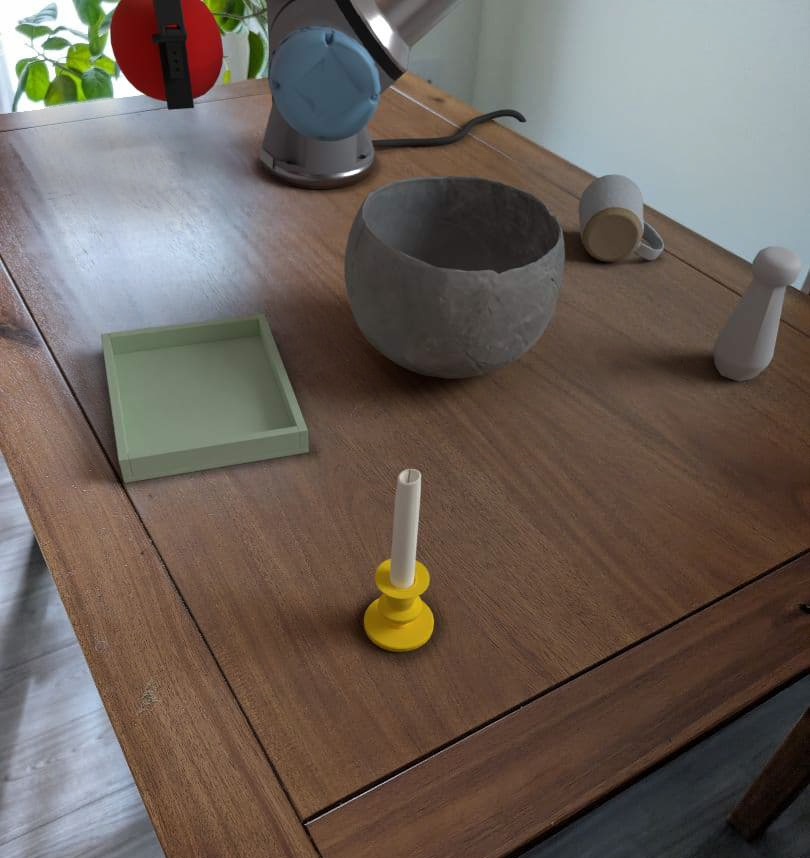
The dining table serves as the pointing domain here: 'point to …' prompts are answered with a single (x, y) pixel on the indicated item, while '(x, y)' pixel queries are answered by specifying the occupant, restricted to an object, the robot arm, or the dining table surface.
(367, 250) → the bowl
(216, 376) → the tray
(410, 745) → the dining table surface
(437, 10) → the robot arm
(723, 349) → the salt shaker
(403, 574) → the candle
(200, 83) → the tomato
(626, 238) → the ceramic mug
